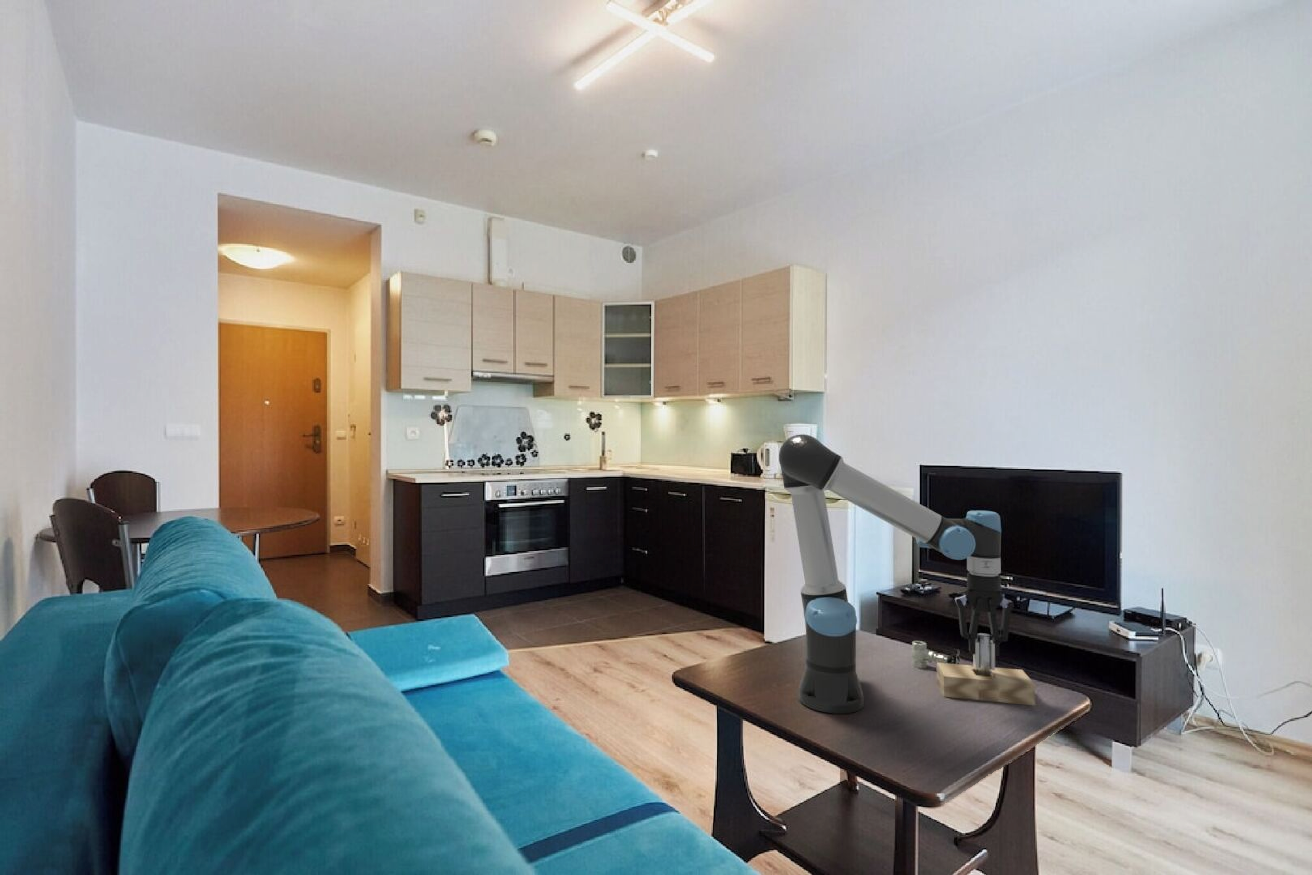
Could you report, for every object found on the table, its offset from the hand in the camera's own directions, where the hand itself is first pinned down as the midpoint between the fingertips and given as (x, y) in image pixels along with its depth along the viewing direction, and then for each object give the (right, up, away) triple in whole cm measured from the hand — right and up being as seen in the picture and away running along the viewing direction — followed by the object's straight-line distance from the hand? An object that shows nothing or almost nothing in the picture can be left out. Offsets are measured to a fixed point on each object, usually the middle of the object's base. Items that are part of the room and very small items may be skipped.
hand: (983, 667), depth 158 cm
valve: (-5, -7, +17) cm, 19 cm away
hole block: (0, -6, 0) cm, 6 cm away
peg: (0, -5, 0) cm, 5 cm away
